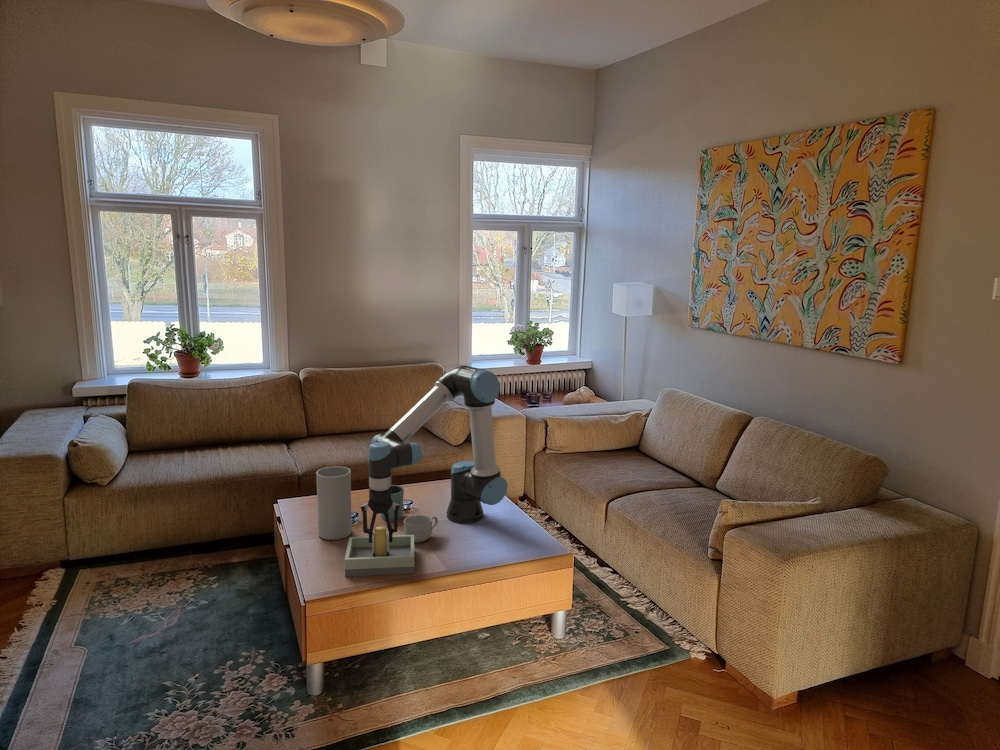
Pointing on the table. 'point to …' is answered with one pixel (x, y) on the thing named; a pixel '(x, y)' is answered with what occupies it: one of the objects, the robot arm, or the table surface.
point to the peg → (380, 542)
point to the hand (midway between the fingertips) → (380, 550)
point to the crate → (366, 563)
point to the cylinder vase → (334, 502)
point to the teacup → (419, 527)
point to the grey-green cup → (395, 501)
